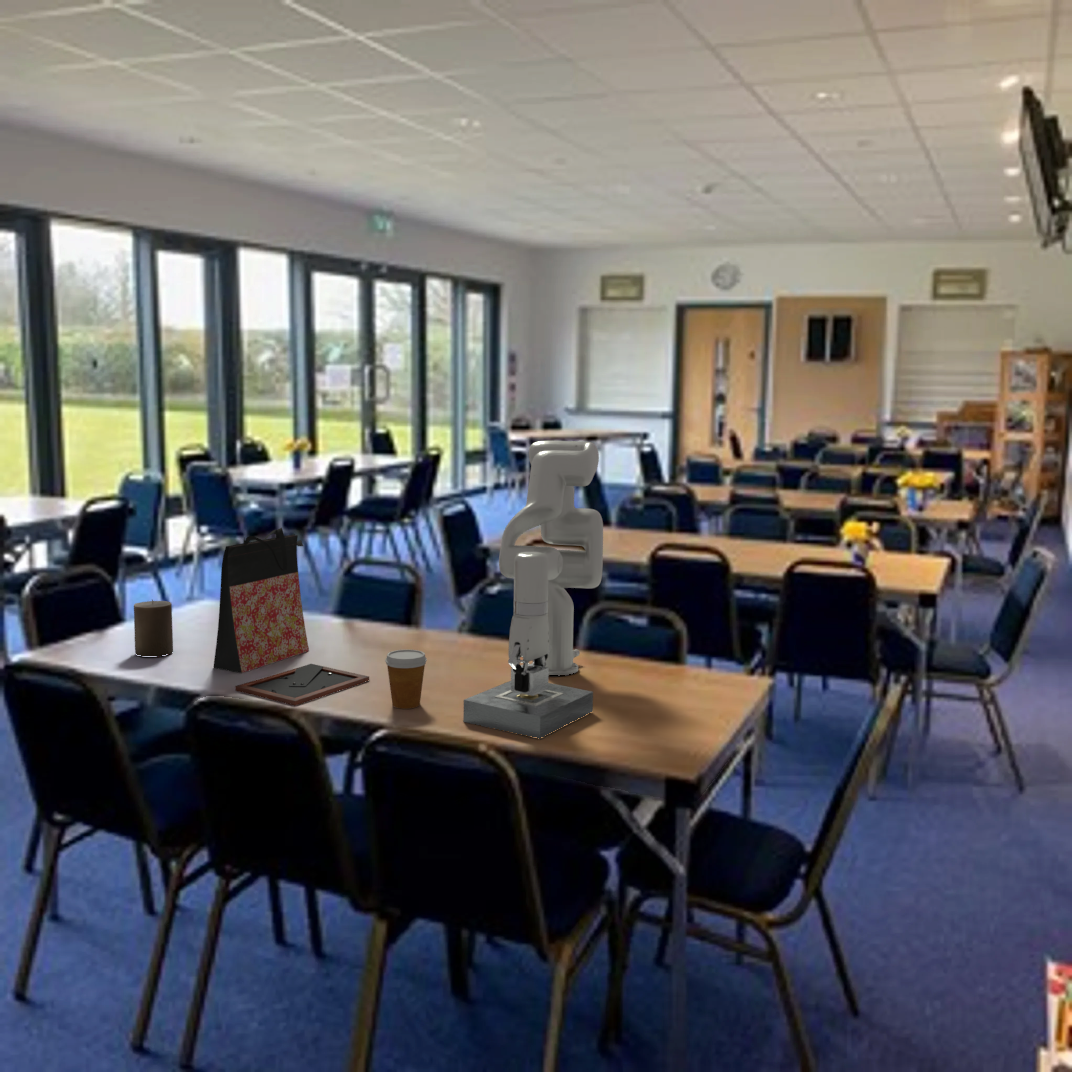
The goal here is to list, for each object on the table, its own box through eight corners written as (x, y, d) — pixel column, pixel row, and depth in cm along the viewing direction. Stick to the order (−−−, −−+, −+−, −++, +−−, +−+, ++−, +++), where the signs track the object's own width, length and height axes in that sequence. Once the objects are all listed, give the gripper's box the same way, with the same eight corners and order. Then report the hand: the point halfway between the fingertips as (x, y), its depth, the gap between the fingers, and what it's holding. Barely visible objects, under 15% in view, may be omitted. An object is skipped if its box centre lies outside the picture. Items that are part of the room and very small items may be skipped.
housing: (526, 684, 236) (526, 662, 235) (548, 689, 233) (548, 667, 232) (510, 690, 231) (511, 668, 230) (533, 695, 228) (533, 672, 227)
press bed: (519, 697, 247) (519, 676, 246) (592, 713, 236) (593, 690, 236) (463, 721, 229) (463, 698, 228) (539, 739, 218) (540, 715, 217)
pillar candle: (165, 658, 276) (163, 603, 274) (128, 657, 276) (127, 602, 274) (178, 649, 286) (177, 596, 284) (143, 648, 286) (141, 595, 284)
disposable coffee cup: (377, 704, 240) (376, 653, 239) (409, 696, 247) (409, 646, 245) (402, 714, 234) (402, 661, 232) (435, 705, 240) (435, 654, 238)
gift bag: (250, 674, 263) (246, 537, 257) (208, 667, 269) (204, 532, 264) (325, 649, 288) (323, 524, 283) (285, 643, 295) (283, 520, 290)
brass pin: (526, 711, 235) (526, 691, 235) (541, 715, 233) (541, 694, 232) (516, 716, 232) (516, 695, 231) (531, 719, 230) (531, 698, 229)
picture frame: (311, 670, 270) (235, 693, 249) (311, 662, 270) (235, 684, 249) (369, 683, 259) (294, 708, 238) (369, 675, 259) (294, 699, 238)
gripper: (537, 599, 238) (536, 676, 241) (494, 613, 224) (493, 694, 227) (565, 603, 234) (564, 681, 237) (523, 617, 220) (521, 700, 223)
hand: (529, 686), depth 232 cm, fingers closed on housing, 5 cm apart
